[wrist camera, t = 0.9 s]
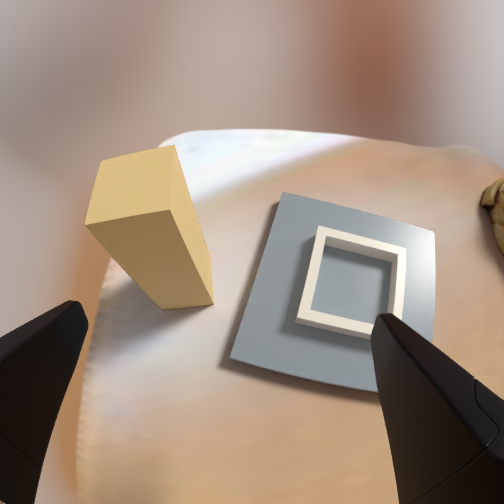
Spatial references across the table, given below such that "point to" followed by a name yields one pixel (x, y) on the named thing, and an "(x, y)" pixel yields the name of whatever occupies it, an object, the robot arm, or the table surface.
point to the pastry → (496, 209)
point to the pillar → (152, 227)
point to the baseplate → (334, 291)
